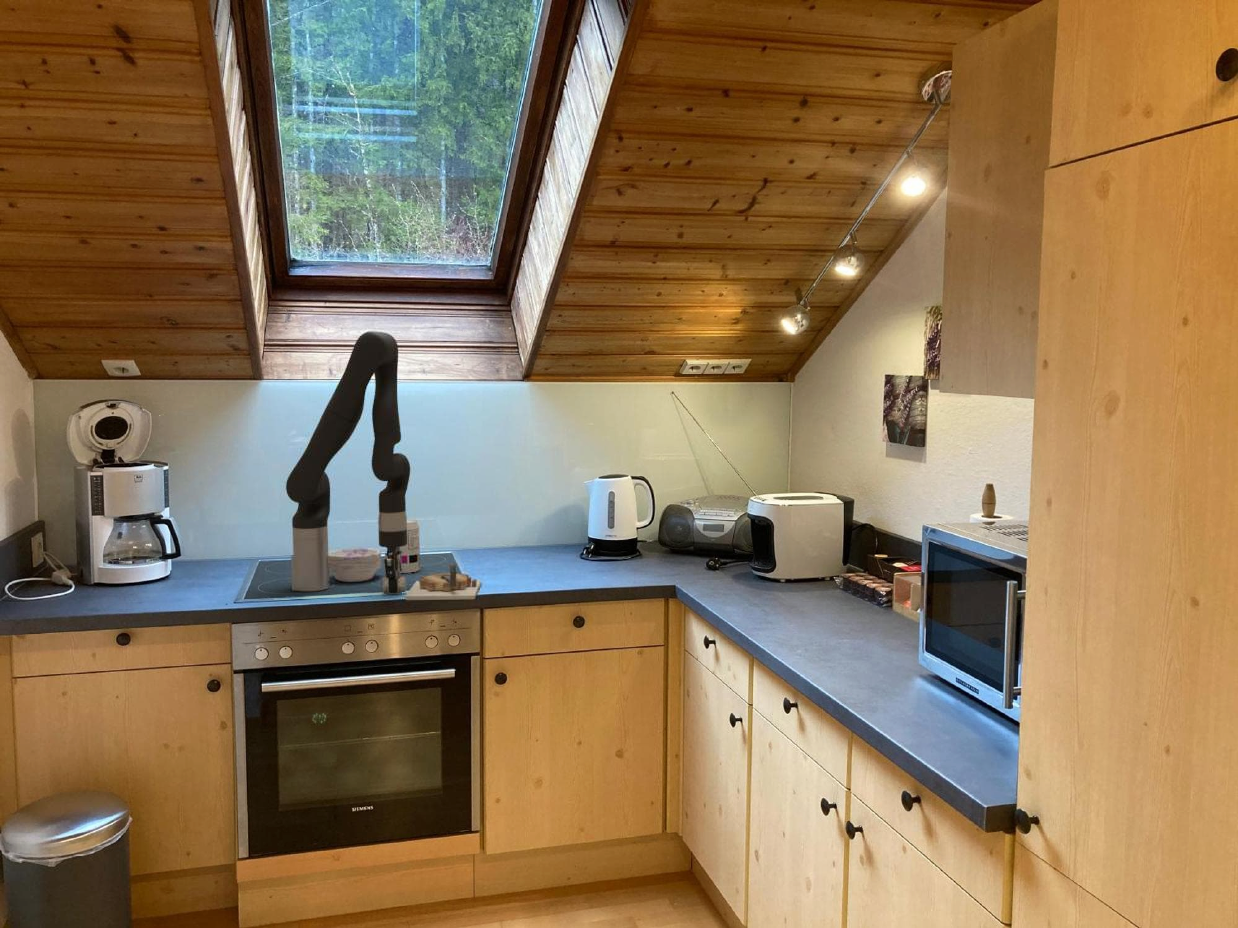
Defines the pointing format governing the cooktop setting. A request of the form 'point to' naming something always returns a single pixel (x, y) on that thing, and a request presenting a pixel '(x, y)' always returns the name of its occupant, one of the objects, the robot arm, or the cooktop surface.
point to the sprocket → (445, 581)
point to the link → (400, 585)
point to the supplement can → (411, 549)
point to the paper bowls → (354, 564)
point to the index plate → (443, 592)
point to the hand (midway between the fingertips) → (394, 590)
